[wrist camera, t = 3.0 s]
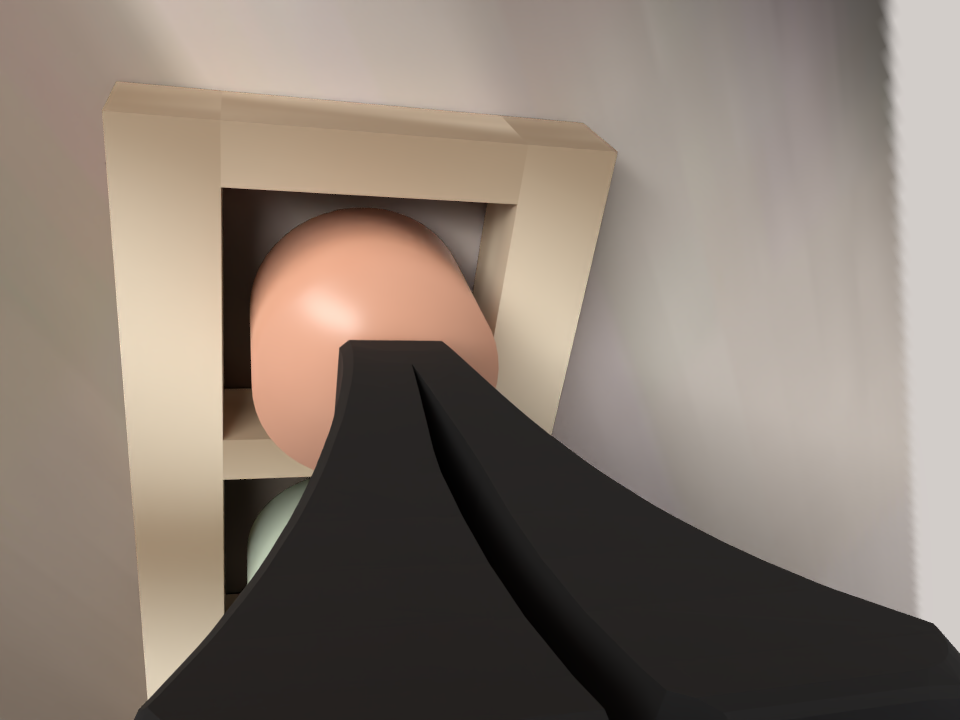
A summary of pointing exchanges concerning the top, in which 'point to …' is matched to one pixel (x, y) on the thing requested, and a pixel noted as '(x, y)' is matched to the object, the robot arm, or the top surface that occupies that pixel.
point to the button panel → (199, 288)
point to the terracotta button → (350, 314)
